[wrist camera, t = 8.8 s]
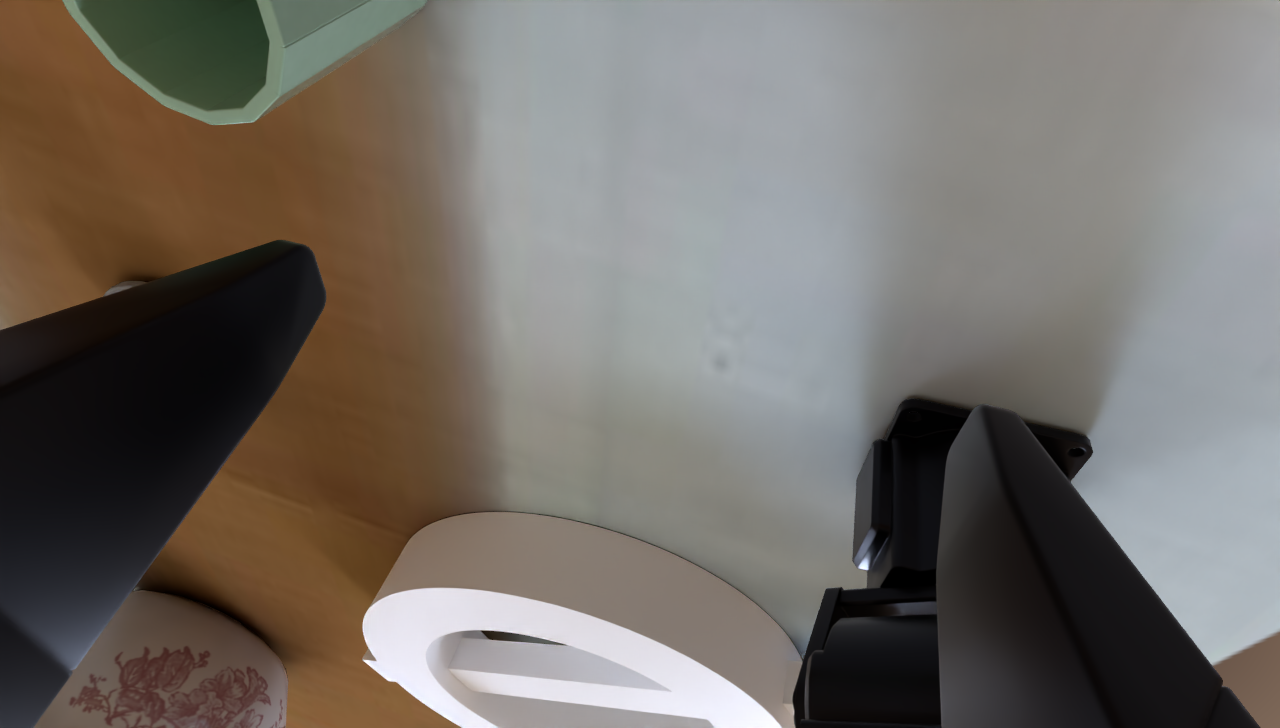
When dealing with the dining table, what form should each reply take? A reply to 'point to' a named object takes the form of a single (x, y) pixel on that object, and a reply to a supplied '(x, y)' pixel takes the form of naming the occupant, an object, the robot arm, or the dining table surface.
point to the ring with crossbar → (574, 631)
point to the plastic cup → (234, 47)
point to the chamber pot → (173, 672)
